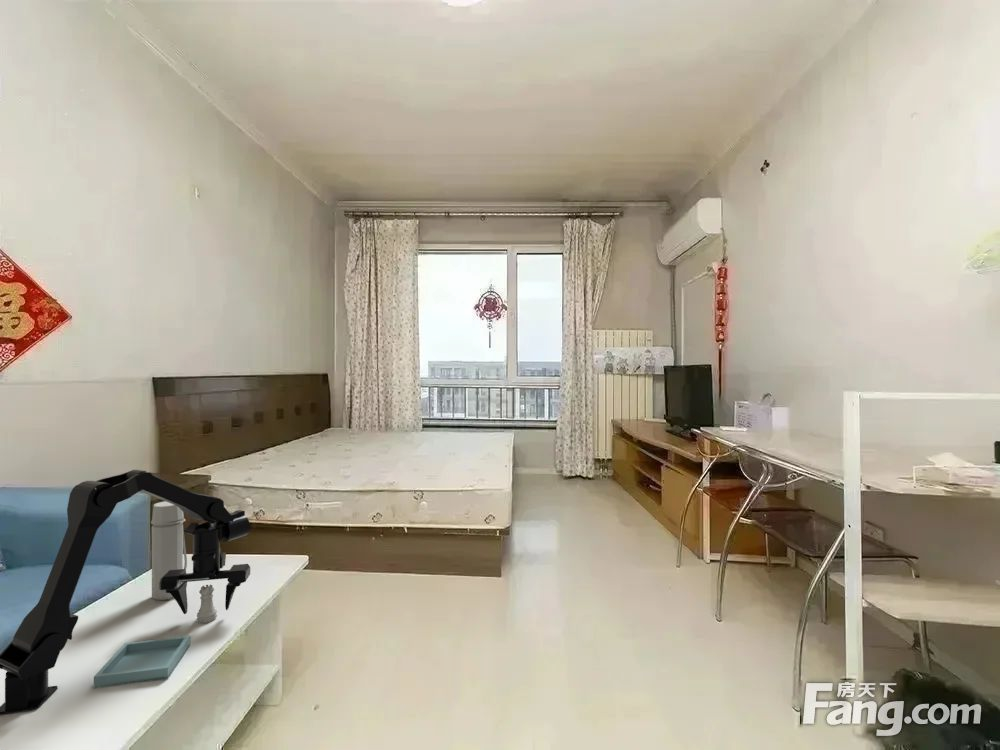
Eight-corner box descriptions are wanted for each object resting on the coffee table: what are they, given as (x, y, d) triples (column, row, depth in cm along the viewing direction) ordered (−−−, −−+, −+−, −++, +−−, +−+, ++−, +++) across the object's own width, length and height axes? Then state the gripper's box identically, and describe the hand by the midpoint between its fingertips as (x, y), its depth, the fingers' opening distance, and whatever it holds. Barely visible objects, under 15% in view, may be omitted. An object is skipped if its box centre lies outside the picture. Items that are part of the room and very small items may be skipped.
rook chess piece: (193, 624, 122) (193, 591, 122) (199, 616, 127) (199, 584, 127) (214, 622, 124) (214, 589, 123) (219, 613, 128) (219, 582, 128)
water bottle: (165, 603, 134) (165, 508, 133) (143, 599, 136) (143, 505, 136) (196, 589, 142) (196, 499, 142) (175, 585, 145) (175, 497, 145)
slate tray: (167, 678, 101) (167, 667, 101) (93, 688, 98) (93, 676, 98) (190, 645, 113) (190, 635, 113) (124, 653, 110) (124, 643, 110)
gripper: (255, 534, 135) (255, 593, 135) (176, 540, 131) (176, 601, 131) (244, 548, 124) (245, 612, 124) (158, 555, 120) (158, 621, 120)
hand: (206, 611), depth 125 cm, fingers open, 9 cm apart
